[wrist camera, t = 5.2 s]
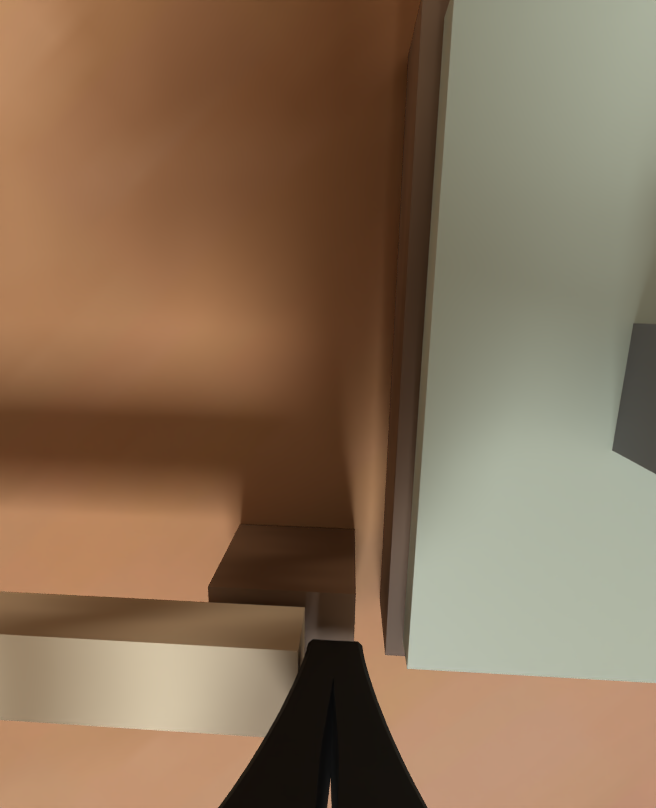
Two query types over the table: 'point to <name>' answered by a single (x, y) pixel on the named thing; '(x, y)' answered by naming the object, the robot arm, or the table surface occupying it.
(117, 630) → the beige rectangular bar
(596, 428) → the lid
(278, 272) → the table surface
